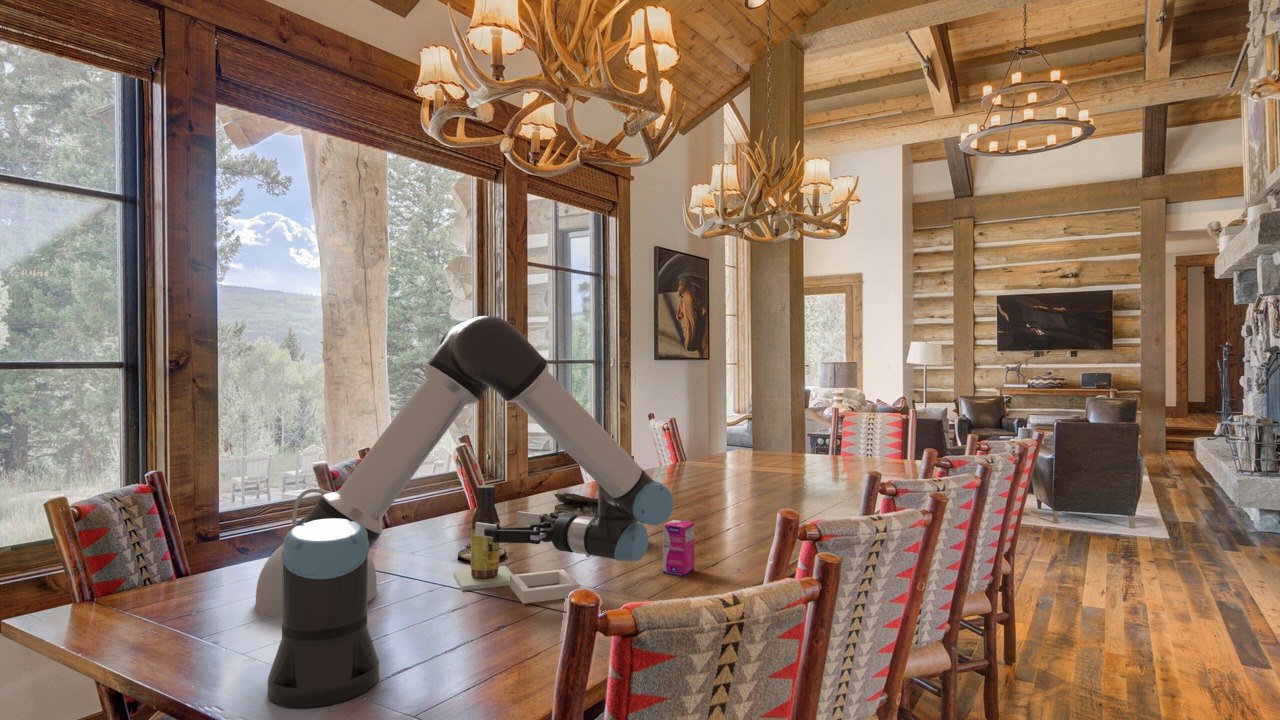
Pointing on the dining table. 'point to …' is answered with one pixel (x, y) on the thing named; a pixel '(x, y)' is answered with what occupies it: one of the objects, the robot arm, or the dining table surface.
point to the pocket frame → (545, 593)
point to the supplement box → (678, 547)
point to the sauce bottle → (483, 547)
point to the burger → (467, 553)
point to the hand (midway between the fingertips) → (497, 522)
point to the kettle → (273, 575)
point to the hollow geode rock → (576, 505)
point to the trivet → (482, 579)
